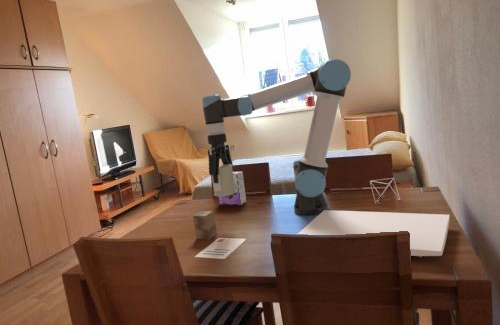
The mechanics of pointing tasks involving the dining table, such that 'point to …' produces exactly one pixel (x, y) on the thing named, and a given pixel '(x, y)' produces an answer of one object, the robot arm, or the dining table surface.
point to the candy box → (240, 195)
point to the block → (205, 225)
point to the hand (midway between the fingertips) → (224, 187)
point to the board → (386, 227)
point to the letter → (220, 248)
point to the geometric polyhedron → (385, 188)
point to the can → (225, 181)
